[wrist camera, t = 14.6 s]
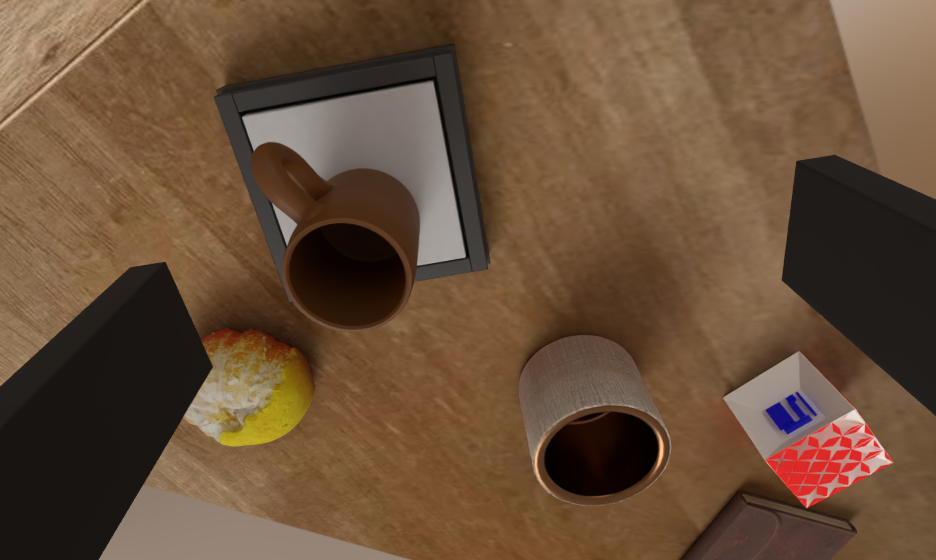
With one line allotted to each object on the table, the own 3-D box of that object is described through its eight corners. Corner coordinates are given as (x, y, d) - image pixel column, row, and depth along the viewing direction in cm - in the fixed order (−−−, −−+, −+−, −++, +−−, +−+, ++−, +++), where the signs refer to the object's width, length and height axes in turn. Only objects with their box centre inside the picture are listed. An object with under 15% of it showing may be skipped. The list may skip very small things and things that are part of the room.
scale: (224, 86, 39) (207, 93, 36) (454, 43, 38) (454, 47, 35) (295, 287, 46) (286, 306, 43) (489, 255, 45) (491, 272, 43)
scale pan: (248, 111, 38) (241, 116, 36) (433, 78, 37) (433, 82, 36) (304, 276, 44) (300, 285, 42) (465, 249, 43) (466, 257, 42)
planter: (603, 309, 48) (636, 379, 40) (654, 392, 53) (694, 471, 44) (494, 367, 51) (505, 445, 42) (552, 442, 55) (572, 526, 47)
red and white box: (760, 443, 56) (806, 508, 49) (722, 397, 53) (764, 460, 46) (836, 400, 54) (894, 462, 47) (800, 350, 51) (856, 408, 44)
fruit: (281, 297, 46) (271, 377, 40) (335, 369, 53) (332, 445, 48) (156, 335, 47) (128, 418, 41) (225, 400, 54) (210, 479, 48)
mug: (245, 151, 37) (188, 199, 29) (335, 84, 36) (302, 115, 27) (358, 282, 42) (337, 356, 34) (442, 230, 41) (441, 294, 32)
